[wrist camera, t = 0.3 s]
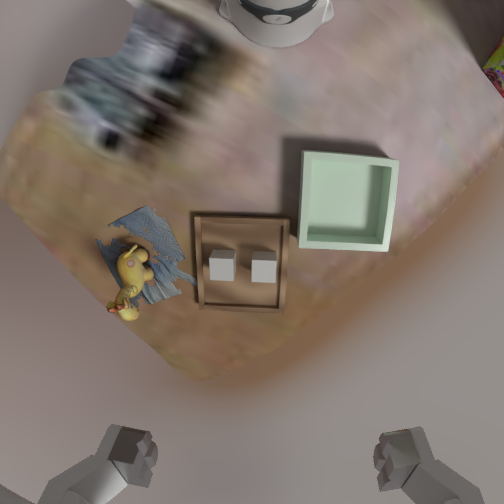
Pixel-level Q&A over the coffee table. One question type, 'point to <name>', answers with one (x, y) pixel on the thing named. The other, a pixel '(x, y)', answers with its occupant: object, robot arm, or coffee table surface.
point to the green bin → (346, 201)
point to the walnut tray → (241, 262)
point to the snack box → (496, 67)
